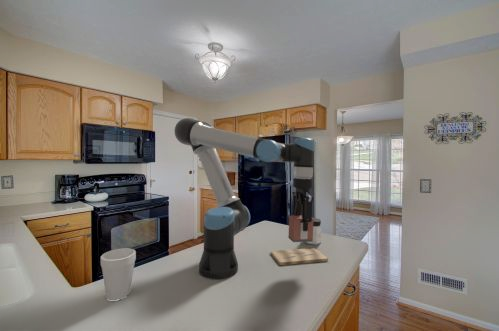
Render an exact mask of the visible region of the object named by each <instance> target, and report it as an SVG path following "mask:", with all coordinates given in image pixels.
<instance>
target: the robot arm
mask: <svg viewBox="0 0 499 331" xmlns="http://www.w3.org/2000/svg"><path fill="white" fill-rule="evenodd" d="M174 135H175V138H176V140H177V141H178V142H179V143H180V144H182V145H186V146H191V149H192V151H193V154H194V155H196V156H198V158H199V159H200V162H201V165H202V168H203V171H204V173H205V176H206V178H207V181H208V183H209V186H210V188H211V191H212V193H213V196H214V198H215V201H216V207H212V208H210V209H208V210H207V211H206V212H205V213H204V217H203V218H204V219H203V251H202V254H201V256H200V257H201V258H200V261H199V262H198V273H199V275H200V276H202V277H204V278H206V279H209V280H223V279H224V280H225V279H227V278H230V277H232V276H235V275H236V274H237V272H238V270H239V262H238V259H237V256H236V252H235V245H234V244H235V236H237V234H239V233H240V232H242V231H244V230H245V229H246V228H247V227H248V226H249V224H250V221H251V213H250V210H249V209H248V207H247V206H246V205H244V204H243V203H242V201H241V199H240V198H239V197H237V196H236V195H235V192H234V190H233V188H232V185H231V183H230V180H229V178H228V175H227V172H226V170H225V168H224V165H223V163H222V160H221V159H220V156H219V153H218V151H217V149H218V150H221V151H222V150H223V151H226V152H229V153H233V154H237V155H242V156H246V157H249V158H253V159H257V160H261V161H262V162H265V163H293V169H292V170H293V173H292V176H293V178H292V187H293V188H295V190H293V191H292V207H291V216H299V215H302V221H300V222H301V228H300V239H307V236H308V223H309V222H312V218H313V201H314V196H313V195H310V190H311V189H313V176H314V161H315V160H314V158H315V141H314V140H313V139H312V138H306V137H305V138H304V137H300V138H295V140H294V143H281V142H277V141H276V140H273V139H266V138H260V137H257V136H253V135H248V134H243V133H238V132H233V131H229V130H224V129H221V128H215V127H214V126H213V125H211V124H210V123H208V122H205V121H200V120H197V119H194V118H189V117H186V118H183V119H180V120H179V121H177V123H176V124H175V126H174Z"/></svg>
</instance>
